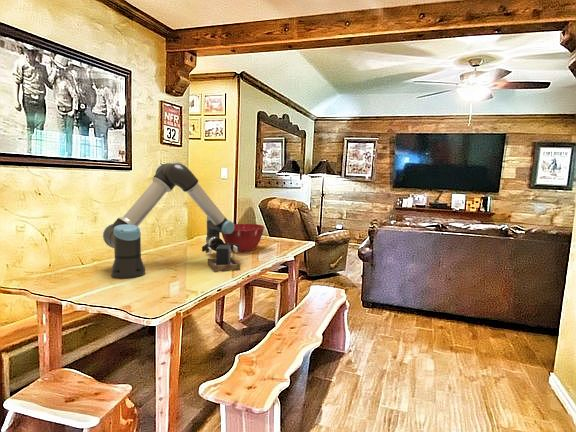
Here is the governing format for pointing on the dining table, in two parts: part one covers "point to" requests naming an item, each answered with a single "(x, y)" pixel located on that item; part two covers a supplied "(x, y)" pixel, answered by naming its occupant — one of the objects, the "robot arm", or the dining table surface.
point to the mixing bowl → (245, 236)
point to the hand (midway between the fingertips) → (224, 250)
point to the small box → (223, 255)
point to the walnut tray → (233, 265)
